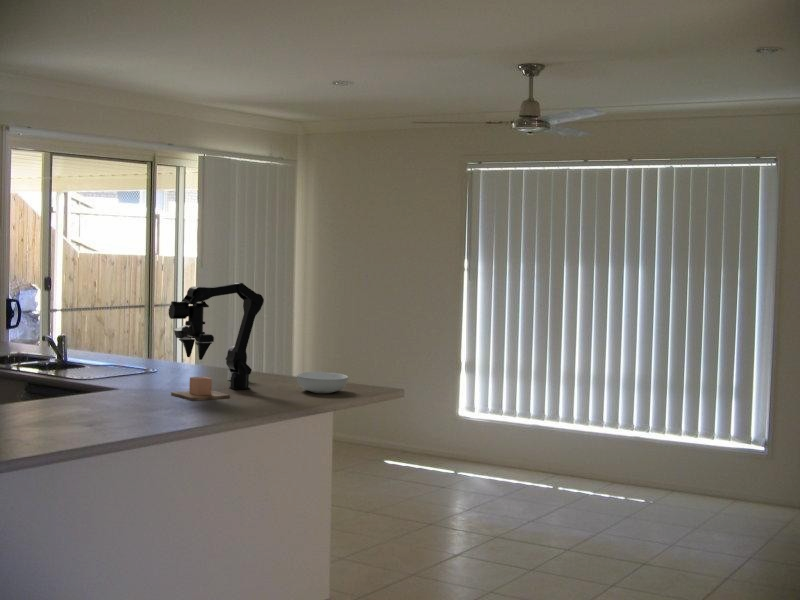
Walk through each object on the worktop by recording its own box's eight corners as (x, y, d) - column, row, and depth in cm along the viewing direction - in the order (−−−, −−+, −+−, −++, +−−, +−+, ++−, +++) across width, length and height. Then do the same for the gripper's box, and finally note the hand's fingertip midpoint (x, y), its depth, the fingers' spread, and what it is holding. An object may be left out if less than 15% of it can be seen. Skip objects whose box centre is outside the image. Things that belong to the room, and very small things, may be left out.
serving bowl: (307, 396, 367) (308, 379, 367) (288, 389, 386) (289, 372, 385) (355, 395, 377) (356, 377, 377) (335, 387, 395) (335, 371, 395)
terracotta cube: (203, 392, 361) (203, 376, 361) (211, 394, 357) (211, 378, 357) (189, 393, 357) (189, 377, 357) (197, 395, 353) (197, 379, 353)
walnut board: (207, 392, 368) (207, 389, 368) (229, 397, 357) (229, 395, 357) (171, 394, 358) (171, 392, 358) (192, 400, 346) (192, 398, 346)
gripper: (165, 317, 369) (164, 356, 369) (189, 321, 355) (188, 362, 356) (190, 316, 376) (189, 355, 377) (215, 320, 362) (213, 360, 363)
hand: (194, 358), depth 368 cm, fingers open, 9 cm apart
